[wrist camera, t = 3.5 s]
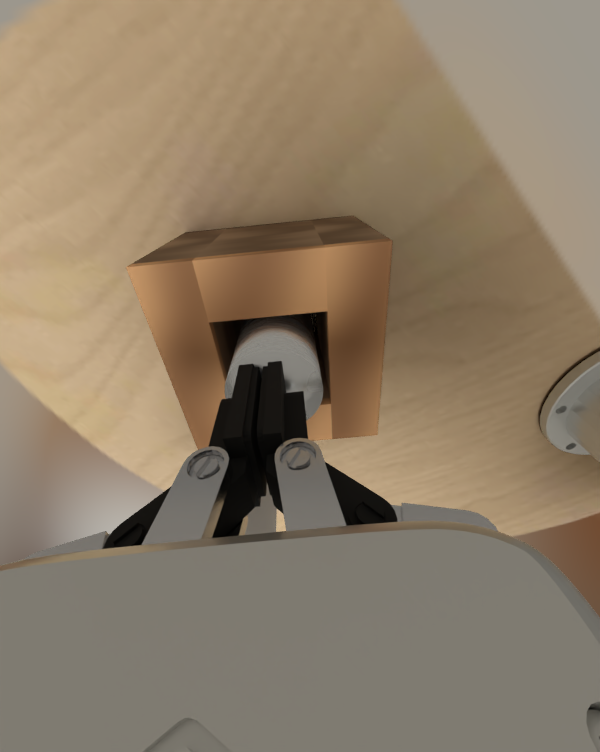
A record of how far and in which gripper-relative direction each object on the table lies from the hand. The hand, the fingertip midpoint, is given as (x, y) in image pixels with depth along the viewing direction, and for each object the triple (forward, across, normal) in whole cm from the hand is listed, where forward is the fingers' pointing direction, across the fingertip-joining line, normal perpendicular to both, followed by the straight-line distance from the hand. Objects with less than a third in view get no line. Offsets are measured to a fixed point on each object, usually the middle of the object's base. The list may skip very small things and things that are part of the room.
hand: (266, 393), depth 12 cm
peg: (+8, 0, 0) cm, 8 cm away
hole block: (+10, 0, 0) cm, 10 cm away
